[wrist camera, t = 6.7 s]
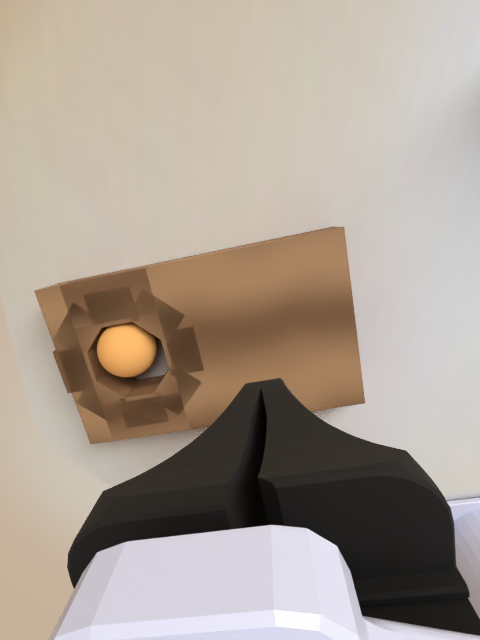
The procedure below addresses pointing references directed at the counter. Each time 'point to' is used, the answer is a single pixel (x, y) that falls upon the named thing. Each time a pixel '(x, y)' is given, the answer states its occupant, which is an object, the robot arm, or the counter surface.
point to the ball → (126, 349)
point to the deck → (212, 333)
